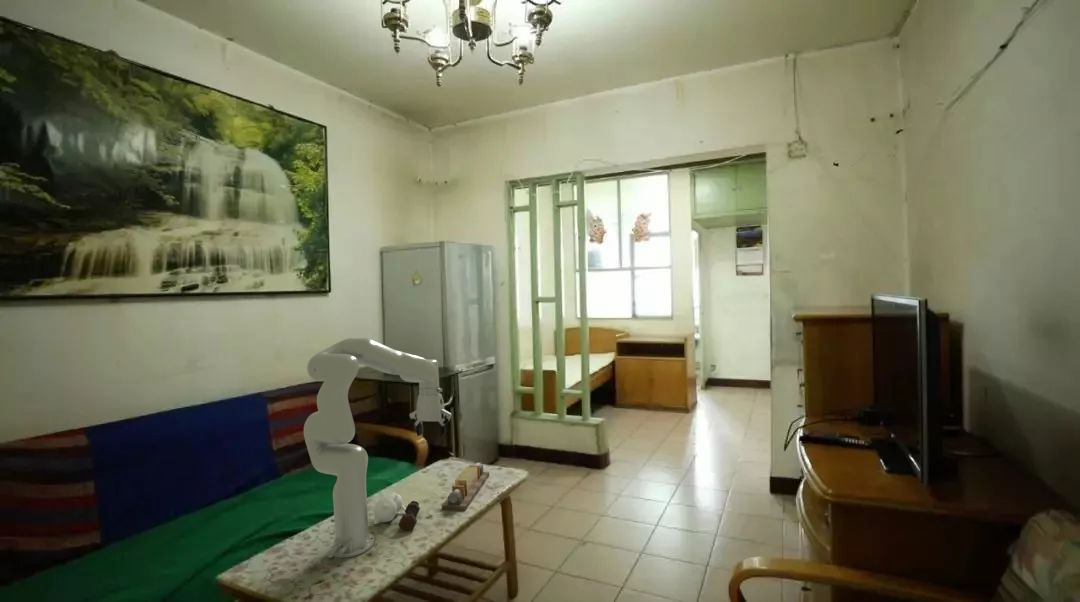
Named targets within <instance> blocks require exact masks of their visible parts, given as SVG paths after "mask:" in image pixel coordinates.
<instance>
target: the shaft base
mask: <svg viewBox="0 0 1080 602" xmlns="http://www.w3.org/2000/svg"><path fill="white" fill-rule="evenodd" d="M468 467H477V475H478V481H477V482H476V484H475V485H474V486H473V488H472V489H471V491H470V492H469V493H468V495H465V487H464V485H455V484H453V485H452V486H451V492H450V493H449V495H447V498H446V499H445V501H444V502H443V503H442V504H441V510H443V509H447V510H448V511H451V510H452V511H467V509H468V508H469V506H470V505H471V504H472V502H473V500H474V499H475V497H476V496H477V494H478V493H479V491H480V490H481V489H482V487H483V485H484V484H485V482H486V481H487V480H488V478H489V477H490V472H489V471H484V465H483V464H482V463H481V462H476V463H475V464H474V465H473V464H472V465H468ZM486 479H487V480H486Z"/></svg>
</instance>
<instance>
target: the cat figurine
mask: <svg viewBox="0 0 1080 602" xmlns="http://www.w3.org/2000/svg"><path fill="white" fill-rule="evenodd" d="M406 508H407V507H405V505H403V498H402V496H401V495H400V494H398V493H395V492H394V491H392V492H391V493H390V494H388V495H387V496H386V497H381V498H380V499H378V500H377V501H376V503H375V504H374V508H373V516H374V521H373V524H374V525H377V524H379V523H389V522H391V521H392V520H393V519H394V518H395V517H396V516H397V513H398V512H400V510H401V509H402V510H403V511H404V512H405V510H406Z"/></svg>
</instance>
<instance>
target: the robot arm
mask: <svg viewBox="0 0 1080 602" xmlns="http://www.w3.org/2000/svg"><path fill="white" fill-rule="evenodd" d="M360 365H363V366H365V367H368V368H371V369H373V370H376V371H378V372H381V373H385V374H389V375H395V376H396V375H397V376H399V377H400V379H401V380H403V381H405V382H408V383H418V384H419V385H418V386H419V389H418V390H419V394H418V396H417V401H416V409H415V410H414V411H413V412H411V413H409V418H410V419H411V422H412V423H413V424H414V426H415V429H416V430H415V432H416V436H417V437H420V436H422V435H423V424H422V422H438V424H440V426H439V436H440V437H444V436H445V435H446V434H447V428H446V427H447V426H446V425H447V424H448V423H449V422H450V420H451V418H452V416H453V415H452V412H449V411H448V410H446V409H445V403H444V399H443V395H442V393H441V392H443V388H442V387H441V386H440V374H439V372H440V371H439V361H438V360H437V359H432V358H430V359H429V358H428V359H426V358H424V357H421V356H418V355H415V354H410V353H408V352H404V351H400V350H397V349H395V348H391V347H389V346H387V345H385V344H382V343H380V342H378V341H376V340H374V339H371V338H366V337H365V338H364V337H362V338H360V337H359V338H352V337H351V338H346V339H343V340H340V341H339V342H338V341H337V342H336V343H335V344H333V345H331V346H328V347H327V348H325V349H323V350H321V351H319V352H317V353H316V354H314V355H313V356H312V357H311V358H310V359H309V361H308V363H307V367H306V368H307V369H306V371H307V374H308V376H309V377H310V378H311V379H313V380H316V381H319V382H322V384H321V387H320V388H319V391H318V393H317V396H316V406H317V411H315V412H313V413H311V414H310V415H309V416H308V417H307V418H306V420H305V422H304V425H303V437H304V441H305V445H306V447H307V448H306V449H307V451H308V455H309V457H310V458H309V459H310V462H311V465H312V466H313V468H314V469H315V471H317V472H319V473H320V474H321V473H322V474H325V475H332V476H336V477H337V479H336V482H335V484H334V486H333V490H332V501H333V502H332V503H333V518H334V519H333V520H334V535H335V536H334V537H335V539H334V540H333V541H334V542H333V543H332V544H331V545H330V548H329V550H328V551H327V553H326V555H327V557H328V558H333V557H335V558H340V559H342V558H343V559H345V558H351V557H355V556H359V555H360V554H364V553H365V552H366V551H368V550H369V549H371V547H373V545H374V544H375V535H373V533H371V532H370V529H369V515H368V513H369V512H368V496H367V469H368V463H369V456H368V453H367V451H366V449H365V448H364V447H362V446H360V445H358V444H353V443H351V441H352V440H353V439H354V437H355V434H356V427H355V422H354V418H353V414H352V410H351V407H350V402H349V398H348V396H349V390H350V387H351V385H352V383H353V381H354V379H355V378H356V376H357V374H358V372H359V369H360ZM415 415H416V416H415ZM349 442H350V443H349Z"/></svg>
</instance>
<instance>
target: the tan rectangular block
mask: <svg viewBox="0 0 1080 602" xmlns="http://www.w3.org/2000/svg"><path fill="white" fill-rule="evenodd" d="M477 481H478V475H477V467H469V466H466V467H465V468H464V469H463V470H462V471H461V472H460V474H459V475H458V476H457V477H456V478H455V480H454V485H464V487H465V495H468V493H469V492H470V491H471V489H472V488H473V486H474V485H475V484H476V482H477Z"/></svg>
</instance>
